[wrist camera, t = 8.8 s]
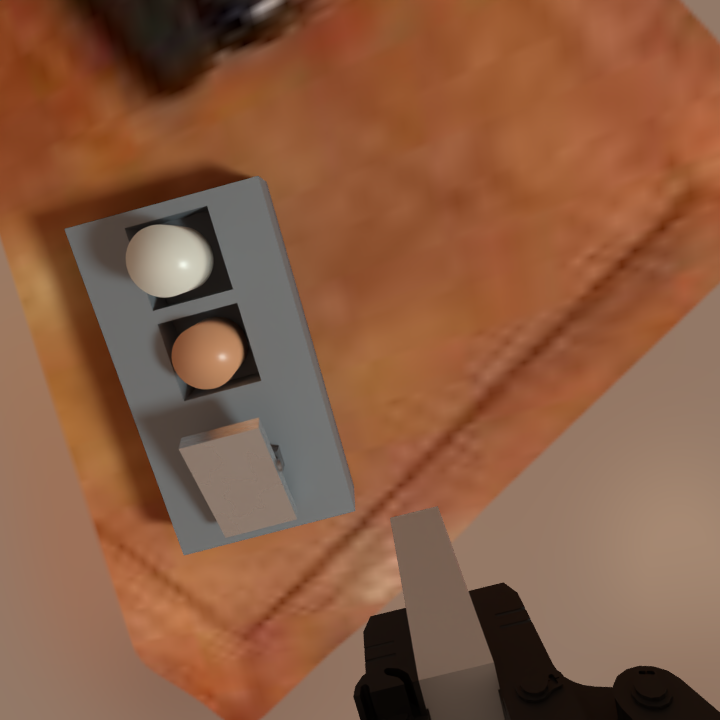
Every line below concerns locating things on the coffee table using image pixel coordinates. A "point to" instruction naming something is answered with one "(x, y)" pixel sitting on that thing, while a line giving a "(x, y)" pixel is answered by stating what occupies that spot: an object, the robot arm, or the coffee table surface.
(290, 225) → the coffee table surface
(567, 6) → the coffee table surface
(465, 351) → the coffee table surface
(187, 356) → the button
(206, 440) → the block
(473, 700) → the robot arm
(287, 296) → the grey slotted block
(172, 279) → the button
